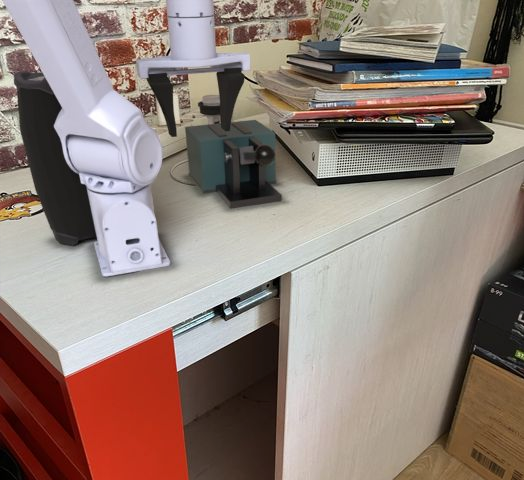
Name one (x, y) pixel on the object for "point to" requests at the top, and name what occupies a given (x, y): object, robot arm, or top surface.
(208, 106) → the push button
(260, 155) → the toaster lever
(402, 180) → the top surface
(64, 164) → the portable speaker
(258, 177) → the lever bracket
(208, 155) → the toaster body
